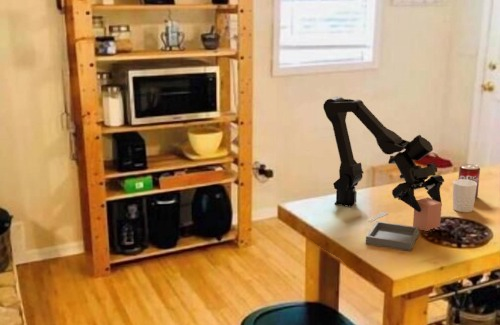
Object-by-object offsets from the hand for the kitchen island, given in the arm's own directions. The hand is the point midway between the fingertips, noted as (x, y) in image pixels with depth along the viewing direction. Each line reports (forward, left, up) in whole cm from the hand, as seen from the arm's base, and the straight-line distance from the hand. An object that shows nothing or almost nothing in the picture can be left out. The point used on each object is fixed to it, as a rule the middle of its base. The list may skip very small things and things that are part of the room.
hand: (430, 208), depth 191 cm
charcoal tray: (-9, -13, -7) cm, 18 cm away
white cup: (+8, +23, -7) cm, 25 cm away
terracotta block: (-1, +1, -7) cm, 7 cm away
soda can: (+8, +37, -7) cm, 38 cm away
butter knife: (-20, -2, -7) cm, 21 cm away
